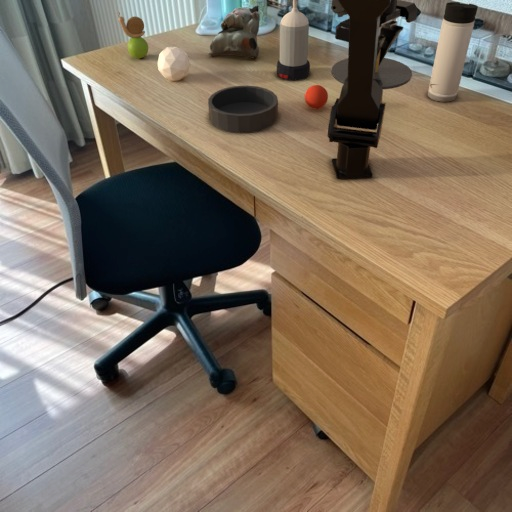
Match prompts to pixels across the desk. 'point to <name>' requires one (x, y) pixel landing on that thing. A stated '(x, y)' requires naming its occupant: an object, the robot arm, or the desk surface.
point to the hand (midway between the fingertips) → (372, 68)
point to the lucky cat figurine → (238, 34)
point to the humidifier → (294, 46)
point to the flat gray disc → (378, 72)
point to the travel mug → (451, 51)
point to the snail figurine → (135, 36)
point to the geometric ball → (173, 63)
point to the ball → (316, 96)
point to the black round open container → (243, 109)
